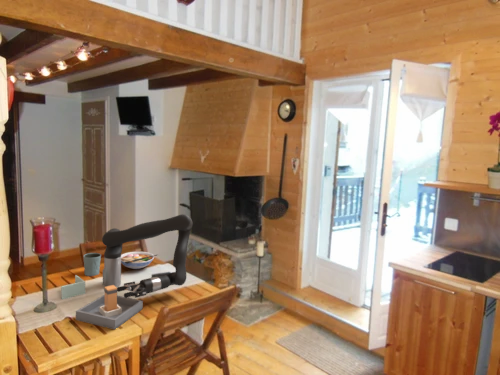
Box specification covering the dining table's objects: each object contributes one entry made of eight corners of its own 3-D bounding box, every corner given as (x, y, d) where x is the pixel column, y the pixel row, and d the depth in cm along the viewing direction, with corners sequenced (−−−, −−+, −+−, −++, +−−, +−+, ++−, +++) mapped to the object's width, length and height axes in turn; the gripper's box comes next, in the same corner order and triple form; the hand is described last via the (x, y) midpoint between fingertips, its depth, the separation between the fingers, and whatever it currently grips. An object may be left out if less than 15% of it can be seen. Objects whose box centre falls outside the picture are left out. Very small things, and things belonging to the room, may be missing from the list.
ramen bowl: (142, 258, 262) (142, 247, 261) (162, 267, 248) (162, 255, 247) (110, 267, 243) (110, 255, 242) (129, 276, 229) (129, 264, 228)
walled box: (75, 319, 174) (75, 311, 173) (106, 301, 195) (106, 293, 194) (115, 329, 168) (115, 320, 167) (142, 309, 189) (142, 300, 188)
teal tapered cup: (79, 274, 228) (79, 256, 226) (91, 269, 237) (91, 251, 235) (93, 277, 225) (93, 258, 223) (104, 272, 234) (104, 253, 233)
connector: (107, 315, 178) (107, 290, 176) (104, 311, 181) (104, 286, 179) (117, 312, 181) (117, 287, 179) (113, 309, 184) (113, 284, 183)
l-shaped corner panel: (76, 287, 211) (76, 274, 210) (85, 294, 203) (85, 281, 201) (54, 292, 202) (54, 279, 201) (62, 300, 194) (62, 287, 193)
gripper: (144, 274, 199) (115, 280, 188) (157, 283, 189) (126, 290, 178) (144, 287, 200) (114, 294, 189) (156, 296, 190) (126, 305, 179)
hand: (120, 292), depth 183 cm, fingers open, 8 cm apart
